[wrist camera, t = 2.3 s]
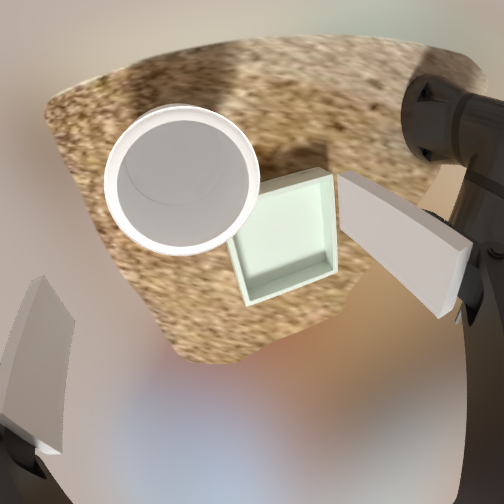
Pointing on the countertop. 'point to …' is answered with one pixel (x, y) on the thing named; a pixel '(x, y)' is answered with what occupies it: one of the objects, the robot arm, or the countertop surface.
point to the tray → (286, 236)
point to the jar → (181, 180)
